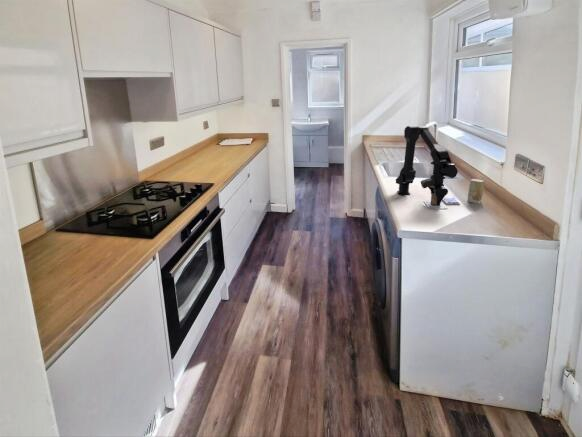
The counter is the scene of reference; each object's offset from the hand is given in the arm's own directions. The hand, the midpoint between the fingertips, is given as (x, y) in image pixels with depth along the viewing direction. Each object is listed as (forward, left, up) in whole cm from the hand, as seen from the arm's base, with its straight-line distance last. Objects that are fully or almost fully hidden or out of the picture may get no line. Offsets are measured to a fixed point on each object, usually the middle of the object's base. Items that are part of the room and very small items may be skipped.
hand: (435, 202), depth 222 cm
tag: (0, 0, -2) cm, 2 cm away
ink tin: (-6, +10, -2) cm, 12 cm away
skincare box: (-7, +23, -2) cm, 24 cm away
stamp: (0, 0, -1) cm, 1 cm away
